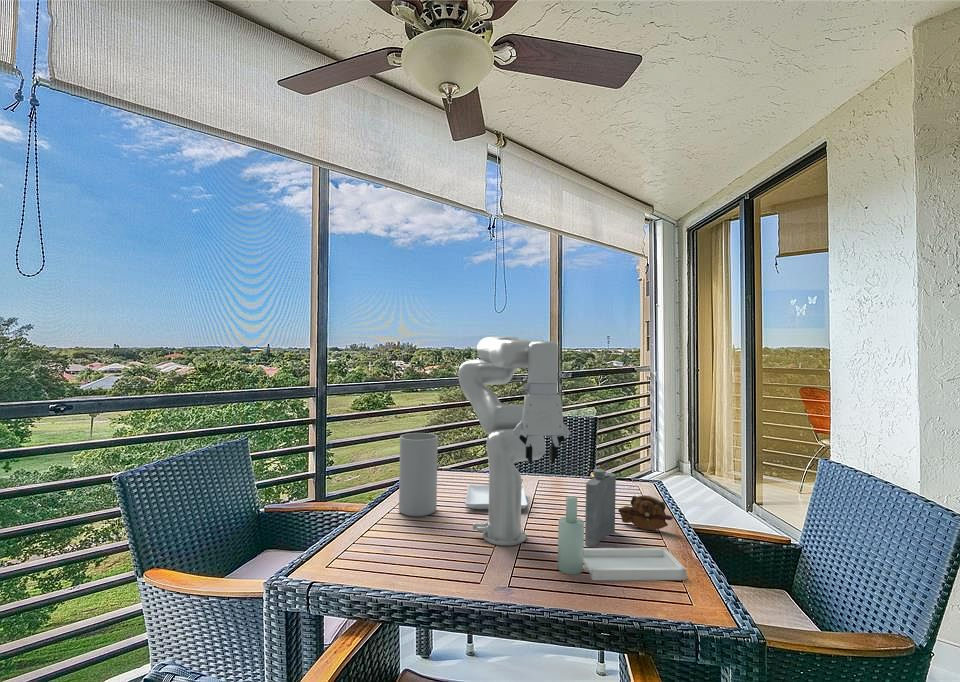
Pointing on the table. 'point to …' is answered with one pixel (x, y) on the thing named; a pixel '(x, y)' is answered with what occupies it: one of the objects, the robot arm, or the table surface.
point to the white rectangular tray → (632, 564)
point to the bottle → (570, 540)
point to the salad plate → (485, 497)
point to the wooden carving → (645, 513)
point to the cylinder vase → (418, 474)
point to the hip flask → (600, 507)
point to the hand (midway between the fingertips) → (541, 460)
